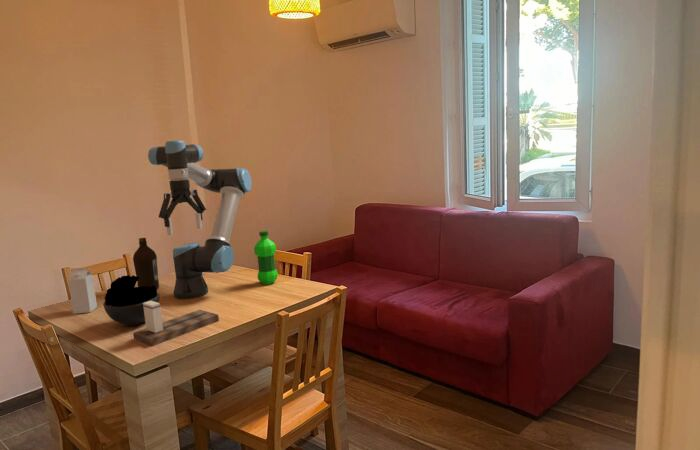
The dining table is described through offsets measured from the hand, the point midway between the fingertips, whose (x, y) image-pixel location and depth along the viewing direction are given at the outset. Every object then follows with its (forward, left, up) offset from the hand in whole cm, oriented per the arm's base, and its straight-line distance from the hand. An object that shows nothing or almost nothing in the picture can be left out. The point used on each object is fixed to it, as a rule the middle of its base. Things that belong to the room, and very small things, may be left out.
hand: (185, 231), depth 209 cm
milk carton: (-42, -26, -33) cm, 59 cm away
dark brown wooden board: (+16, -18, -33) cm, 41 cm away
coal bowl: (-6, -23, -33) cm, 41 cm away
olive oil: (-48, +7, -33) cm, 59 cm away
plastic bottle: (-1, +42, -33) cm, 53 cm away
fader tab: (+16, -27, -30) cm, 43 cm away
